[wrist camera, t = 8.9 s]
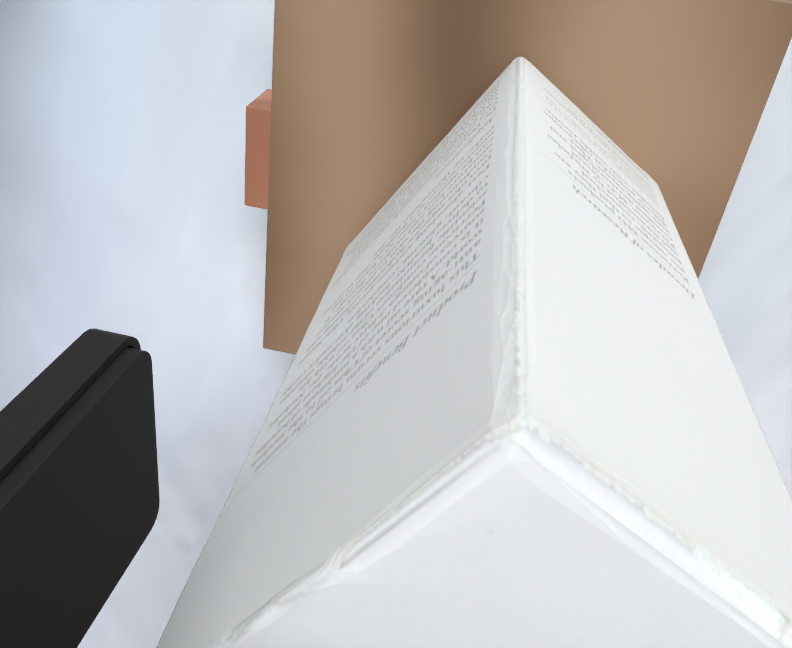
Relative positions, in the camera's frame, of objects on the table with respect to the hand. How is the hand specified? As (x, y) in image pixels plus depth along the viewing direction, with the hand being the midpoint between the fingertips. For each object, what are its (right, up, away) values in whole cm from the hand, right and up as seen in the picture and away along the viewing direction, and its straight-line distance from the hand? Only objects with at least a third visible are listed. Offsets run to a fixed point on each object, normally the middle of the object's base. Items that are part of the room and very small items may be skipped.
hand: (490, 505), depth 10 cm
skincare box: (+1, +5, +8) cm, 9 cm away
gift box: (+2, +7, +12) cm, 14 cm away
